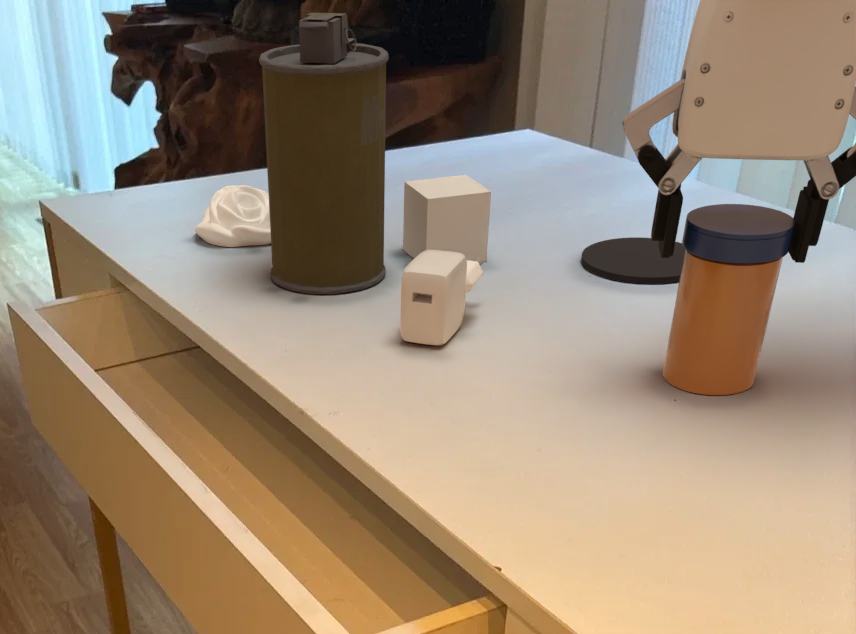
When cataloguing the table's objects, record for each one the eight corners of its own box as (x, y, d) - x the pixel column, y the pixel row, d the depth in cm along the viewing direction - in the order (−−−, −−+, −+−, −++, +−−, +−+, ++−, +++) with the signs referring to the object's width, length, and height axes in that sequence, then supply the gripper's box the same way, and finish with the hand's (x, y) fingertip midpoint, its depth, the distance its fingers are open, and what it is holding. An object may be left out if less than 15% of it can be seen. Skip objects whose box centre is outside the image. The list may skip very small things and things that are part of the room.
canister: (366, 299, 96) (367, 28, 83) (253, 289, 98) (236, 24, 86) (400, 259, 103) (406, 5, 91) (294, 250, 106) (285, 3, 93)
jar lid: (781, 232, 78) (787, 204, 77) (798, 265, 73) (805, 236, 72) (677, 230, 79) (682, 203, 78) (686, 262, 74) (692, 234, 72)
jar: (747, 361, 84) (781, 211, 77) (759, 397, 79) (797, 241, 72) (659, 358, 85) (685, 210, 78) (666, 393, 80) (694, 239, 73)
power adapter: (435, 296, 96) (438, 224, 92) (490, 303, 94) (495, 230, 91) (391, 343, 88) (392, 267, 84) (449, 351, 87) (454, 274, 83)
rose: (236, 167, 113) (313, 180, 108) (239, 213, 116) (314, 228, 111) (169, 191, 107) (247, 206, 102) (174, 239, 110) (250, 256, 105)
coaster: (699, 245, 104) (700, 238, 104) (712, 285, 96) (714, 278, 96) (579, 242, 106) (580, 236, 105) (582, 282, 98) (583, 275, 97)
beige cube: (425, 269, 101) (427, 199, 97) (402, 249, 106) (403, 181, 102) (486, 261, 103) (491, 191, 99) (462, 241, 107) (465, 174, 103)
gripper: (937, -65, 67) (851, 241, 78) (638, -65, 69) (597, 233, 80) (974, -50, 61) (875, 277, 72) (647, -50, 63) (601, 267, 74)
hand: (729, 252), depth 76 cm, fingers open, 8 cm apart
